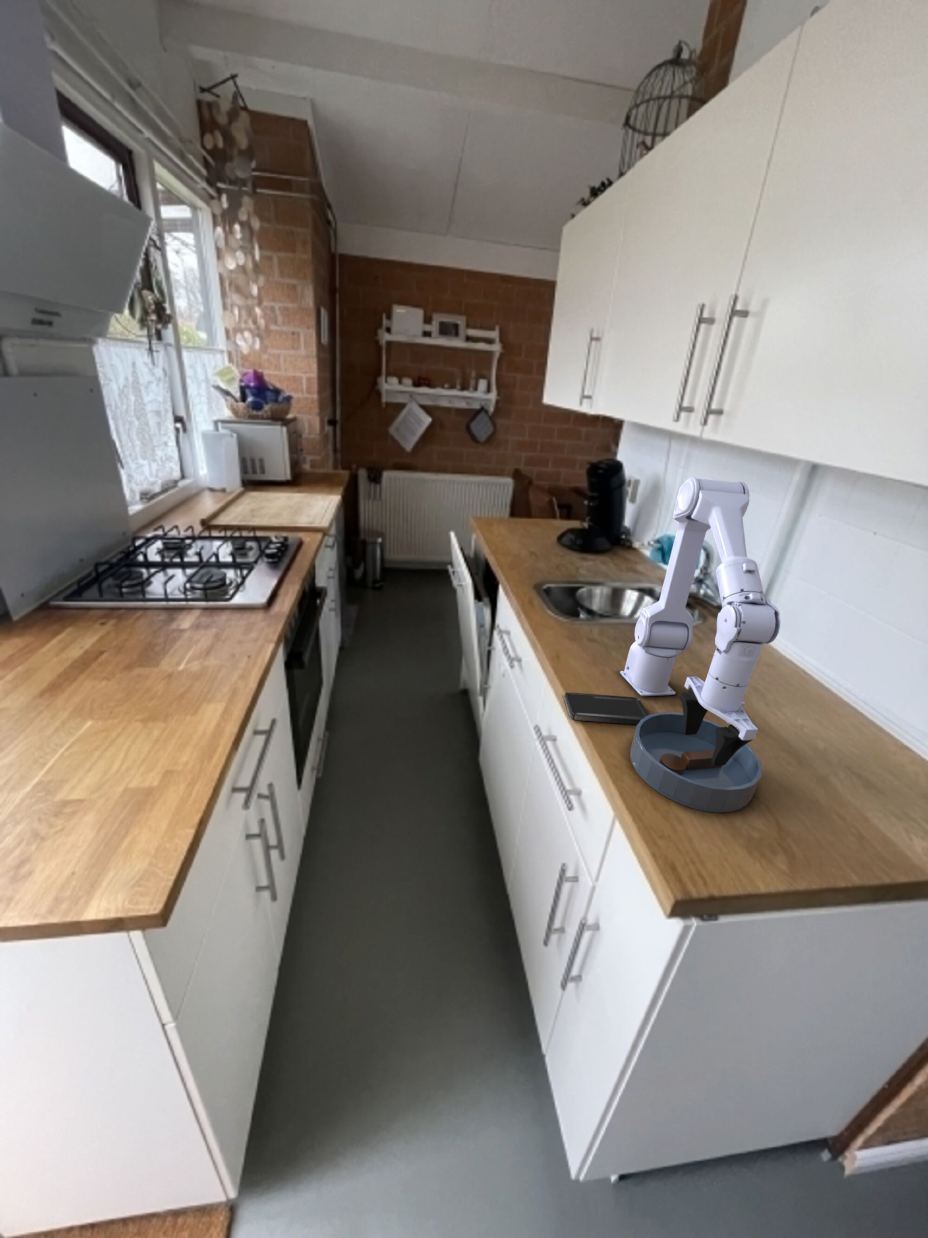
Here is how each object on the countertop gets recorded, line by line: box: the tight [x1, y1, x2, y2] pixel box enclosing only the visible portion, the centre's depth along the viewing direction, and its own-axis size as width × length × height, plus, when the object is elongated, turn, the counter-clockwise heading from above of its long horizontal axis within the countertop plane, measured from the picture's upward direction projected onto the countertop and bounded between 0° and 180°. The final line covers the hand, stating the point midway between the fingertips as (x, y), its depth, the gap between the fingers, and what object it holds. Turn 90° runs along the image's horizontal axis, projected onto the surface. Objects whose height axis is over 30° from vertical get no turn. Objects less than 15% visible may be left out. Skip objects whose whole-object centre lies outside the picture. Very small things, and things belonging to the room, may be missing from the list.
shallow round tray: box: [629, 711, 764, 814], centre depth 84 cm, size 19×19×4 cm
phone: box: [563, 691, 650, 726], centre depth 98 cm, size 8×1×15 cm
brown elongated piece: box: [659, 750, 723, 775], centre depth 84 cm, size 11×4×2 cm, turn 102°
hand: (703, 748), depth 83 cm, fingers open, 7 cm apart
